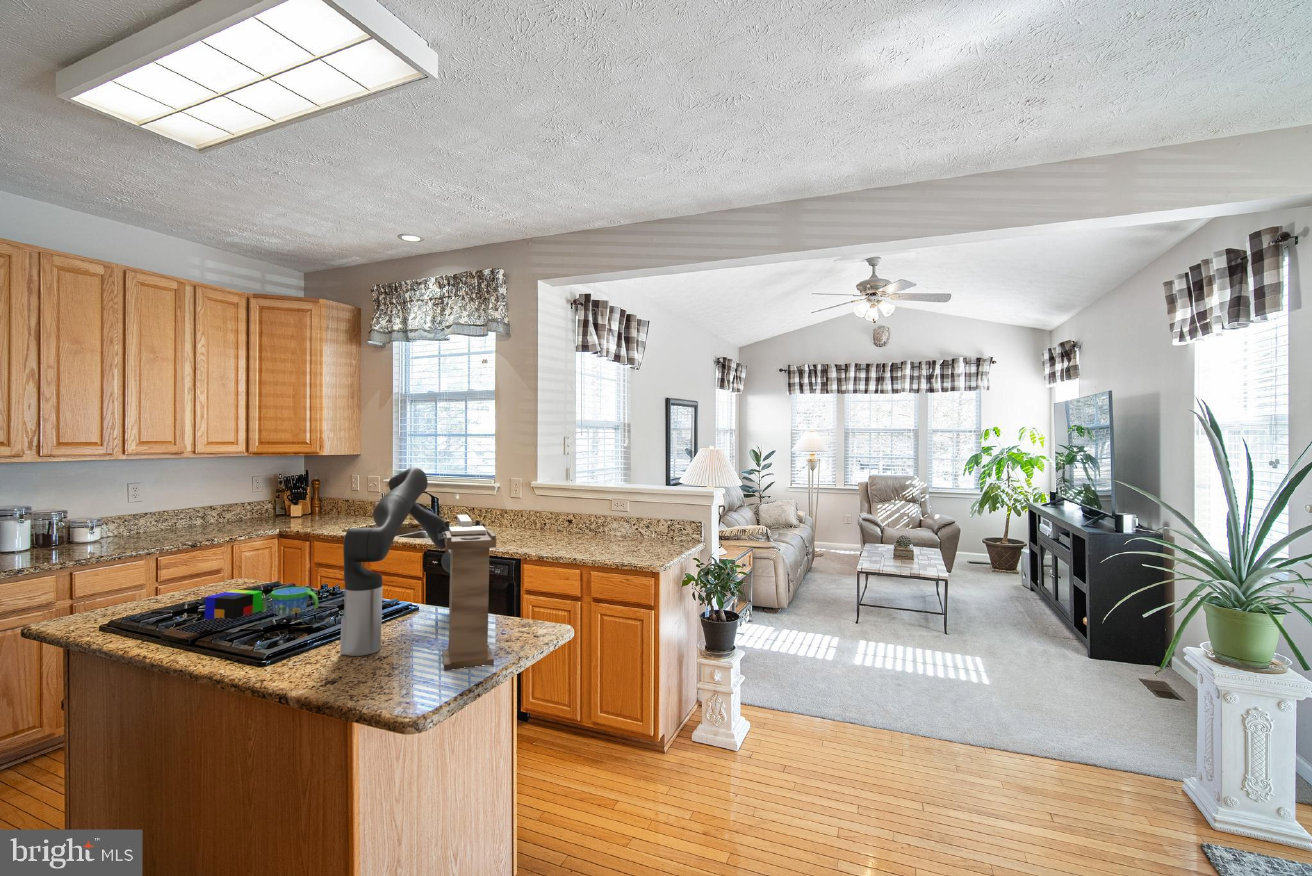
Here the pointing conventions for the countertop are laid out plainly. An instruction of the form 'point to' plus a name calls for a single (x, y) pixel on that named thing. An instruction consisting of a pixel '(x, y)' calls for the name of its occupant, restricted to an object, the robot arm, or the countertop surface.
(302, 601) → the snack cup
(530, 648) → the countertop surface
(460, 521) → the slide cover
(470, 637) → the stand
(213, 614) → the puzzle toy
